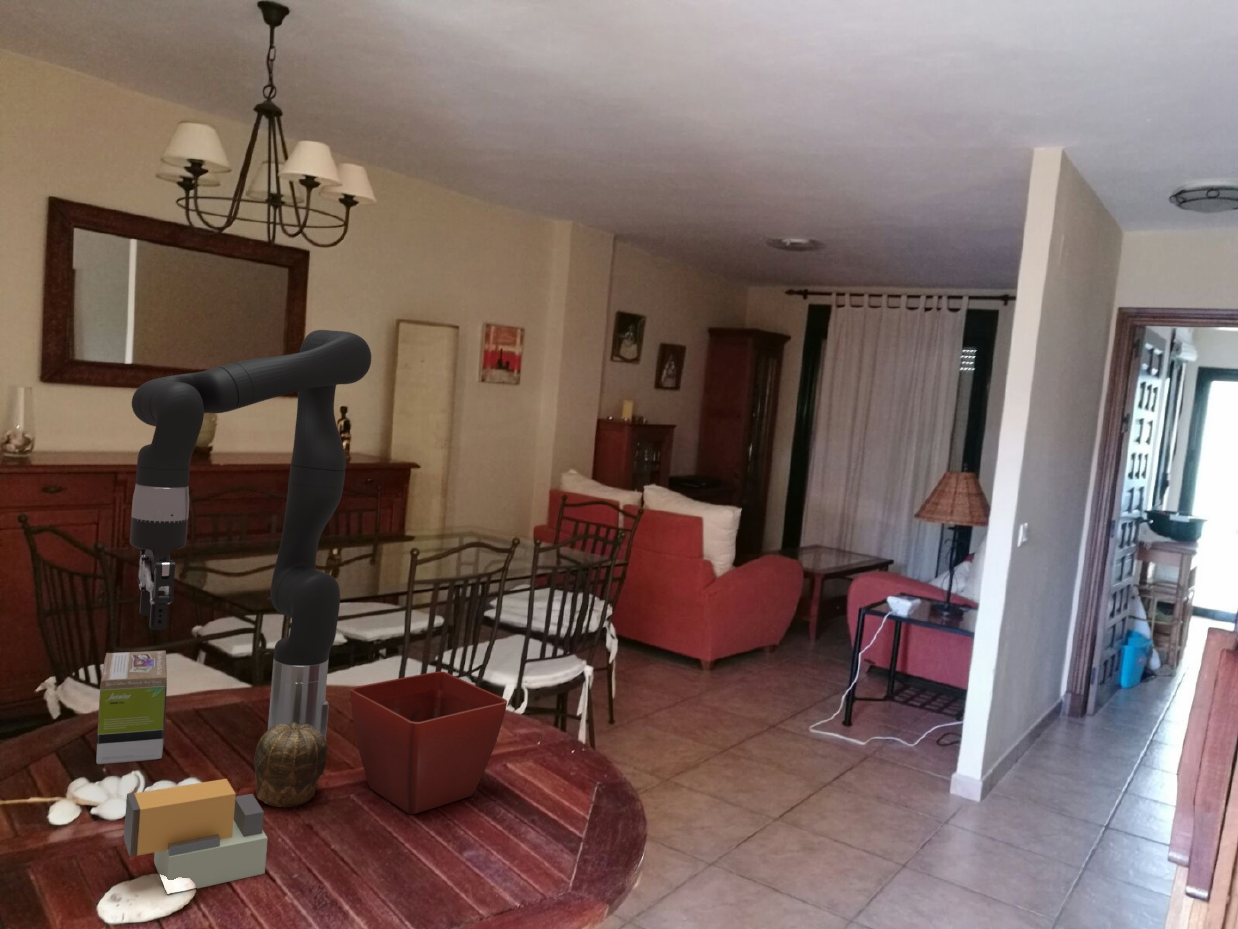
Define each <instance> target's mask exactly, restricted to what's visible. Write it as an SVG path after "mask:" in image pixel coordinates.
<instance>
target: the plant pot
mask: <svg viewBox="0 0 1238 929" xmlns="http://www.w3.org/2000/svg"><path fill="white" fill-rule="evenodd" d="M349 692H350V701H351V702H350V703H351V713H352V721H353V726H354V727H353V728H354V732H355V738H356V743H357V747H358V752H359V756H360V759H361V764H362V767H363V770H364V774H365V778H366V780H367V784H368V786H369V788H370V790H372V791H373V792H375V793H377V794H378V795H380V796H381V797H382V798H384V799H385V800H386V801H388V802H390V803H392V804H393V805H394V806H396V807H398V808H399V809H401V810H402V811H403V812H406V813H407V814H410V815H416V814H419V813H422V812H426V811H428V810H432V809H434V808H438V807H442V806H445V805H447V804H451V803H454V802H457V801H461V800H463V799H467V798H470V797H472V796H473V795H474V793H475V791H476V789H477V787H478V786H479V783H480V781H481V779H482V777H483V775H484V773H485V770H486V768H487V766H488V763H489V761H490V759H491V756H492V754H493V751H494V749H495V746H496V743H497V740H498V737H499V734H500V731H501V728H502V725H503V721H504V718H505V714H506V709H507V706H508V700H507V699H506V698H504V697H502V696H499V695H497V694H494V693H492V692H490V691H488V690H486V689H483V688H482V687H478V686H477V685H475V684H473V683H470V682H469V681H466V680H464V679H461V678H460V677H457V676H455V675H453V674H451V673H448V672H446V671H442V670H441V671H433V672H432V671H431V672H427V673H422V674H416V675H411V676H406V677H405V676H404V677H400V678H395V679H389V680H385V681H384V680H383V681H379V682H373V683H369V684H363V685H357V686H354V687H351V688H350V691H349Z"/></svg>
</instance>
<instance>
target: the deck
mask: <svg viewBox="0 0 1238 929" xmlns="http://www.w3.org/2000/svg"><path fill="white" fill-rule="evenodd" d="M264 815H265V811H264V810H263V808H262V807H261V805H260V804H259V802H258V800H257V799H256V798H255V795H254V794H253V793H250V794H243V795H237V796H235V808H234V821H233V833H232V837H230V838H225V839H220V836H219V834H216V835H211V836H205V837H200V838H195V839H190V840H184V841H179V842H174V843H169V844H168V850H163V851H158V852H154V858H153V863H154V866H155V868H156V871H157V874H158V875H159V874H161V875H164V876H166V877H167V879H168V880H174V879H176V878H178V877H182V878H190V879H191V880H192V881H193V882H194V883H195V884H196V888H197V889H202V888H207V887H210V886H215V885H220V884H223V883H224V884H225V883H227V882H228V883H229V882H232V881H237V880H241V879H245V878H250V877H255V876H260V875H263V874H264V875H265V872H266V865H267V864H266V863H267V849H268V836H267V834H266V833H265V831H264V829H263V828H264V817H265V816H264Z"/></svg>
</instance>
